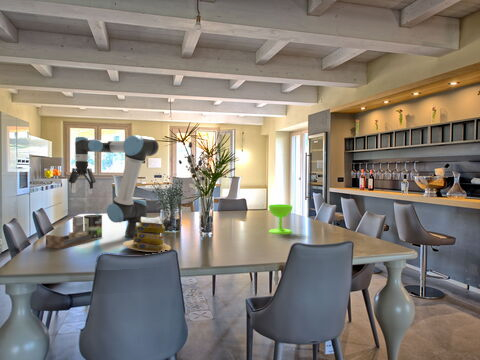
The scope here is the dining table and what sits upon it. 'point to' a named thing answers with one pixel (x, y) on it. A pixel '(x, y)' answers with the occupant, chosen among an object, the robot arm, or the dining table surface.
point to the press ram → (77, 228)
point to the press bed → (66, 241)
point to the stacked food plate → (148, 236)
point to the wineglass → (280, 217)
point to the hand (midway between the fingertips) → (81, 193)
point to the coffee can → (93, 226)
